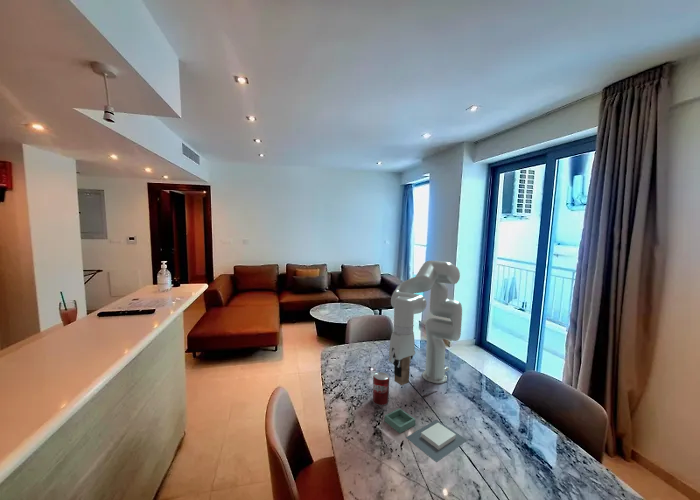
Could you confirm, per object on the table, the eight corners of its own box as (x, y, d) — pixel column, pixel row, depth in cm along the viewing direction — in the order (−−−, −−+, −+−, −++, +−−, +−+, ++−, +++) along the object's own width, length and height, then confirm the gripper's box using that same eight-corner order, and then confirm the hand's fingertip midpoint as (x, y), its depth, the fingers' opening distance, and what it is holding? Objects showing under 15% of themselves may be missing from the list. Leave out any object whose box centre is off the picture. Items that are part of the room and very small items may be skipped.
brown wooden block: (401, 378, 118) (402, 349, 118) (408, 382, 115) (409, 352, 114) (394, 381, 116) (395, 351, 115) (401, 385, 113) (402, 355, 112)
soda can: (388, 407, 128) (388, 381, 127) (371, 405, 130) (372, 378, 129) (389, 397, 135) (389, 372, 134) (373, 395, 137) (374, 371, 136)
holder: (399, 414, 123) (399, 408, 123) (415, 426, 116) (415, 419, 116) (384, 422, 118) (384, 415, 118) (399, 434, 111) (400, 427, 111)
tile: (438, 422, 115) (421, 432, 110) (455, 434, 109) (438, 445, 103) (437, 426, 115) (420, 436, 110) (455, 438, 109) (438, 450, 103)
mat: (436, 420, 120) (436, 419, 120) (467, 441, 108) (467, 440, 108) (405, 438, 109) (405, 437, 109) (436, 463, 98) (436, 462, 98)
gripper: (410, 322, 122) (409, 364, 123) (380, 330, 112) (379, 376, 114) (425, 327, 116) (423, 372, 117) (394, 336, 106) (393, 384, 108)
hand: (401, 373), depth 115 cm, fingers closed on brown wooden block, 4 cm apart
